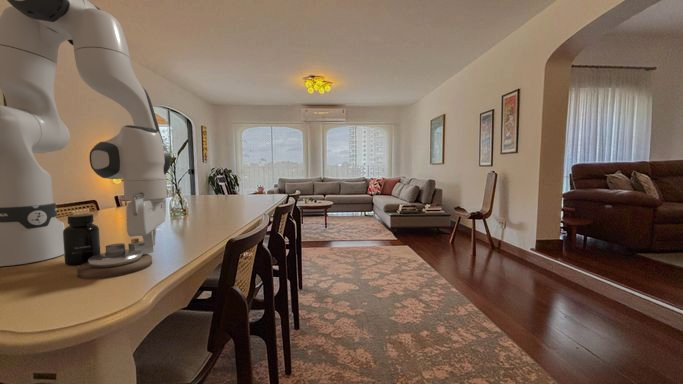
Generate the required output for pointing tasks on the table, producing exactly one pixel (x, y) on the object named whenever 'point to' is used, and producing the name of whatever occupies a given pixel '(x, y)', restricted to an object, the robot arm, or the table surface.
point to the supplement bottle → (80, 239)
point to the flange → (119, 254)
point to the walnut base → (114, 268)
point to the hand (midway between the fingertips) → (150, 246)
